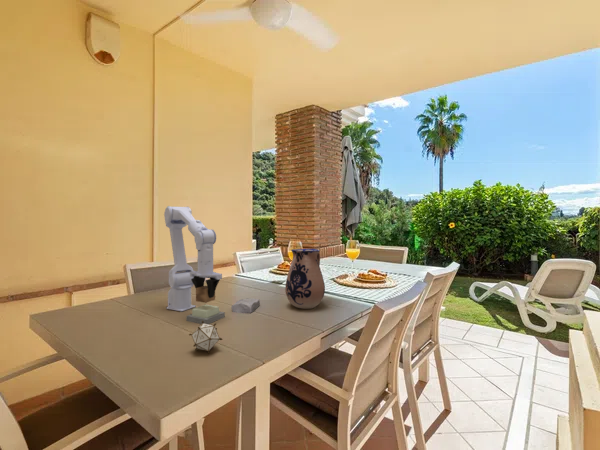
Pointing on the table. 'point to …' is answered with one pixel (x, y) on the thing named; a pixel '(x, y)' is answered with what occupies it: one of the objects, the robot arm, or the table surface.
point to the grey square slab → (206, 320)
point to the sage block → (205, 311)
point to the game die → (205, 337)
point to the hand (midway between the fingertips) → (205, 296)
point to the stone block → (246, 305)
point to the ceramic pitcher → (305, 279)
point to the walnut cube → (203, 295)
